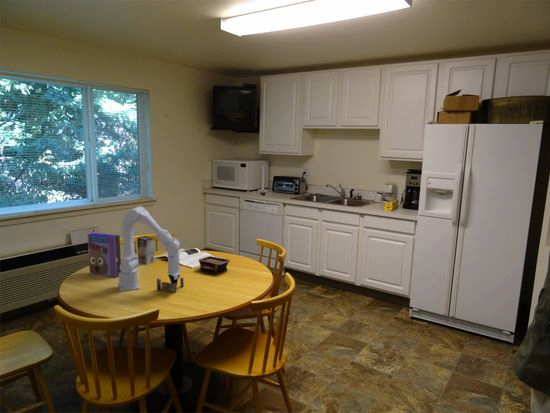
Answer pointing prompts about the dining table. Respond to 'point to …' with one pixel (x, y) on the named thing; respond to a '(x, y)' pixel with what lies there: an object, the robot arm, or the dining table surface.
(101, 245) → the cereal box
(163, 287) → the brown wooden block
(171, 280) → the robot arm
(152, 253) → the coffee box
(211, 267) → the dark rectangular container
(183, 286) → the gate posts
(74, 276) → the dining table surface
